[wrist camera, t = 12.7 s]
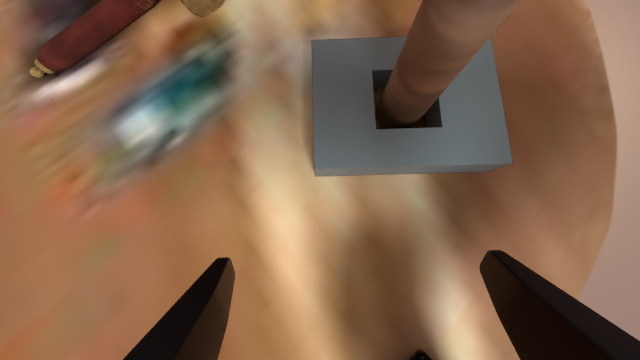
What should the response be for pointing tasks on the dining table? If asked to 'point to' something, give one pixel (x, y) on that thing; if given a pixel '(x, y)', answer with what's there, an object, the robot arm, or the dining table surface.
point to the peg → (437, 55)
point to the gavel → (100, 31)
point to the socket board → (407, 143)
